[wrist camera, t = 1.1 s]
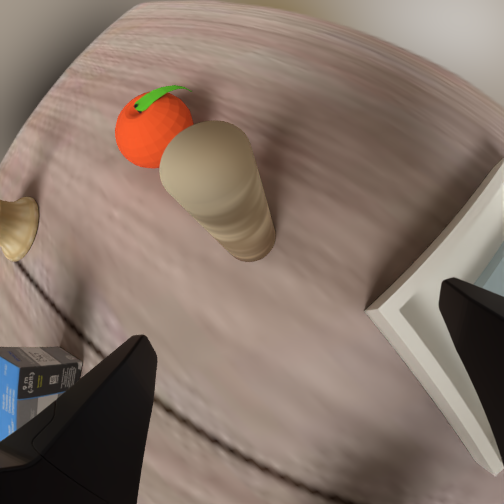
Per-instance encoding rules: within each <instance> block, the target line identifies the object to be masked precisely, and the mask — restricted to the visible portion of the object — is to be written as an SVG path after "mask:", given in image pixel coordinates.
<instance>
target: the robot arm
mask: <svg viewBox="0 0 504 504" xmlns="http://www.w3.org/2000/svg"><path fill="white" fill-rule="evenodd" d="M438 305H439V310H440V312H441V315H442V317H443V319H444V322H445V324H446V327H447V329H448V331H449V334H450V336H451V339H452V341H453V344H454V346H455V349H456V351H457V353H458V355H459V357H460V359H461V361H462V363H463V365H464V367H465V369H466V371H467V373H468V375H469V377H470V380H471V382H472V384H473V386H474V388H475V391H476V393H477V395H478V397H479V400H480V402H481V405H482V407H483V409H484V412H485V414H486V417H487V419H488V422H489V424H490V427H491V430H492V432H493V435H494V438H495V441H496V444H497V447H498V450H499V453H500V456H501V460H502V463H503V466H504V297H503V296H501V295H498V294H496V293H494V292H491V291H489V290H486V289H484V288H481V287H478V286H476V285H473V284H471V283H468V282H466V281H463V280H460V279H458V278H455V277H452V278H448V279H445V280H443V281H442V283H441V289H440V296H439V303H438ZM156 370H157V355H156V352H155V351H154V349H153V347H152V345H151V343H150V341H149V340H148V338H147V337H146V336H145V335H134V336H132V337H130V338H129V339H128V340H127V341H126V342H124V343H123V344H122V345H121V346H119V347H118V348H117V349H116V350H115V351H113V352H112V353H111V354H110V355H109V356H107V357H106V358H105V359H104V360H103V361H101V362H100V363H99V364H98V365H97V366H95V367H94V368H93V369H92V370H90V371H89V372H88V373H87V374H86V375H84V376H83V377H82V378H81V379H80V380H78V381H77V382H76V383H75V384H74V385H73V386H71V387H70V388H69V389H68V390H67V391H65V392H64V393H63V394H62V395H61V396H59V397H58V398H57V400H54V401H53V402H52V403H51V404H50V405H49V406H47V407H46V408H45V409H44V410H42V411H41V412H40V413H39V414H38V415H36V416H35V417H34V418H32V419H31V420H30V421H28V422H27V423H26V424H24V425H23V426H21V427H20V428H19V429H17V430H16V431H14V432H13V433H12V434H10V435H9V436H7V437H6V438H5V439H3V440H2V441H0V504H137V497H138V490H139V483H140V476H141V469H142V463H143V457H144V451H145V445H146V439H147V433H148V428H149V422H150V417H151V412H152V407H153V400H154V391H155V380H156Z"/></svg>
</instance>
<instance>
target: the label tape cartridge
mask: <svg viewBox="0 0 504 504" xmlns="http://www.w3.org/2000/svg"><path fill="white" fill-rule="evenodd" d="M81 368H82V361H81V360H79V359H78V358H76V357H75V356H73V355H71V354H70V353H68V352H66V351H65V350H64V349H62V348H60V347H0V441H2V440H3V439H5V438H6V437H7V436H9V435H10V434H12V433H13V432H14V431H16V430H17V429H19V428H20V427H21V426H23V425H24V424H26V423H27V422H28V421H30V420H31V419H32V418H34V417H35V416H36V415H38V414H39V413H40V412H41V411H42V410H44V409H45V408H46V407H47V406H49V405H50V404H51V403H52V402H53V401H54V400H57V398H58V397H59V396H61V395H62V394H63V393H64V392H65V391H67V390H68V389H69V388H70V387H71V386H73V385H74V384H75V383H76V382H77V381H78V380H79V377H80V373H81Z"/></svg>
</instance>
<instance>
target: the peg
mask: <svg viewBox="0 0 504 504" xmlns="http://www.w3.org/2000/svg"><path fill="white" fill-rule="evenodd" d="M159 171H160V178H161V182H162V184H163V186H164V188H165V189H166V190H167V192H168V193H169V194H170V195H171V196H172V197H173V198H174V199H175V200H176V201H177V202H178V203H179V204H180V205H181V206H182V207H183V208H184V209H185V210H186V211H187V212H188V213H189V214H190V215H191V216H192V217H193V218H194V219H196V220H197V221H198V222H199V223H200V224H201V225H202V226H203V227H204V228H205V229H206V230H207V231H208V232H209V233H210V234H211V235H212V236H213V237H214V238H215V239H216V240H217V241H218V242H219V243H220V244H221V245H222V246H223V247H224V248H225V249H226V250H227V251H228V252H229V253H230V254H231V255H232V256H234V257H235V258H236V259H238V260H241V261H245V262H253V261H257V260H260V259H262V258H264V257H265V256H266V255H267V254H268V253H269V252H270V251H271V249H272V248H273V246H274V243H275V229H274V225H273V222H272V218H271V215H270V211H269V207H268V204H267V200H266V197H265V193H264V189H263V186H262V182H261V179H260V175H259V172H258V168H257V165H256V162H255V158H254V155H253V151H252V148H251V144H250V142H249V139H248V138H247V136H246V135H245V133H244V132H243V131H242V130H241V129H239V128H238V127H237V126H235V125H233V124H230V123H228V122H224V121H205V122H200V123H197V124H194V125H192V126H190V127H188V128H186V129H184V130H183V131H181V132H180V133H179V134H178V135H176V136H175V137H174V138H173V139H172V140H171V142H170V143H169V144H168V146H167V147H166V149H165V151H164V153H163V155H162V158H161V161H160V169H159Z"/></svg>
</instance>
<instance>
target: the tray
mask: <svg viewBox="0 0 504 504" xmlns="http://www.w3.org/2000/svg"><path fill="white" fill-rule="evenodd" d="M452 277H455V278H458V279H460V280H463V281H466V282H468V283H471V284H473V285H476V286H478V287H481V288H484V289H486V290H489V291H491V292H494V293H496V294H498V295H501V296H503V297H504V158H503V159H502V160H501V161H500V162H499V163H498V164H497V165H496V166H494V167H493V168H492V169H491V171H490V172H489V174H488V175H487V176H486V178H485V179H484V180H483V182H482V183H481V184H480V186H479V187H478V188H477V190H476V191H475V192H474V194H473V195H472V196H471V197H470V199H469V200H468V201H467V202H466V204H465V205H464V206H463V207H462V209H461V210H460V211H459V212H458V213H457V215H456V216H455V217H454V218H453V219H452V221H451V222H450V223H449V224H448V225H447V227H446V228H445V229H444V230H443V231H442V232H441V233H440V235H439V236H438V237H437V238H436V239H435V240H434V241H433V242H432V243H431V245H430V246H429V247H428V248H427V249H426V250H425V251H424V252H423V253H422V254H421V255H420V256H419V258H418V259H417V260H416V261H415V262H414V263H413V264H412V265H411V266H410V267H409V268H408V269H407V270H406V271H405V272H404V273H403V274H402V275H401V276H400V277H399V278H398V279H397V280H396V281H395V282H394V283H393V284H392V285H391V286H390V287H389V288H388V289H387V290H386V291H385V292H384V293H383V294H382V295H381V296H380V297H379V298H377V299H376V300H375V301H374V302H373V303H372V304H371V305H370V306H369V307H368V308H367V309H366V310H364V312H365V313H366V314H367V315H368V316H369V318H370V319H371V320H372V321H373V323H374V324H375V325H376V326H377V328H378V329H379V330H380V331H381V333H382V334H383V335H384V336H385V338H386V339H387V340H388V342H389V343H390V344H391V345H392V347H393V348H394V349H395V351H396V352H397V353H398V354H399V356H400V357H401V358H402V360H403V361H404V362H405V363H406V365H407V366H408V367H409V369H410V370H411V371H412V373H413V374H414V375H415V377H416V378H417V379H418V381H419V382H420V383H421V385H422V386H423V387H424V389H425V390H426V391H427V393H428V394H429V396H430V397H431V398H432V400H433V401H434V402H435V404H436V405H437V407H438V408H439V409H440V411H441V412H442V414H443V415H444V416H445V418H446V419H447V421H448V422H449V423H450V425H451V426H452V428H453V429H454V431H455V432H456V434H457V435H458V436H459V438H460V439H461V441H462V442H463V444H464V445H465V447H466V448H467V450H468V451H469V453H470V454H471V456H472V457H473V459H474V460H475V462H477V463H478V464H479V465H481V466H482V467H483V468H484V469H486V470H487V471H489V472H490V473H491V474H493V475H494V476H495V477H496V476H497V475H498V474H499V472H500V471H501V470H502V469H503V468H504V466H503V463H502V460H501V456H500V453H499V450H498V447H497V444H496V441H495V438H494V435H493V432H492V430H491V427H490V424H489V422H488V419H487V417H486V414H485V412H484V409H483V407H482V405H481V402H480V400H479V397H478V395H477V393H476V391H475V388H474V386H473V384H472V382H471V380H470V377H469V375H468V373H467V371H466V369H465V367H464V365H463V363H462V361H461V359H460V357H459V355H458V353H457V351H456V349H455V346H454V344H453V341H452V339H451V336H450V334H449V331H448V329H447V327H446V324H445V322H444V319H443V317H442V315H441V312H440V310H439V305H438V303H439V296H440V289H441V283H442V281H443V280H445V279H448V278H452Z"/></svg>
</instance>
